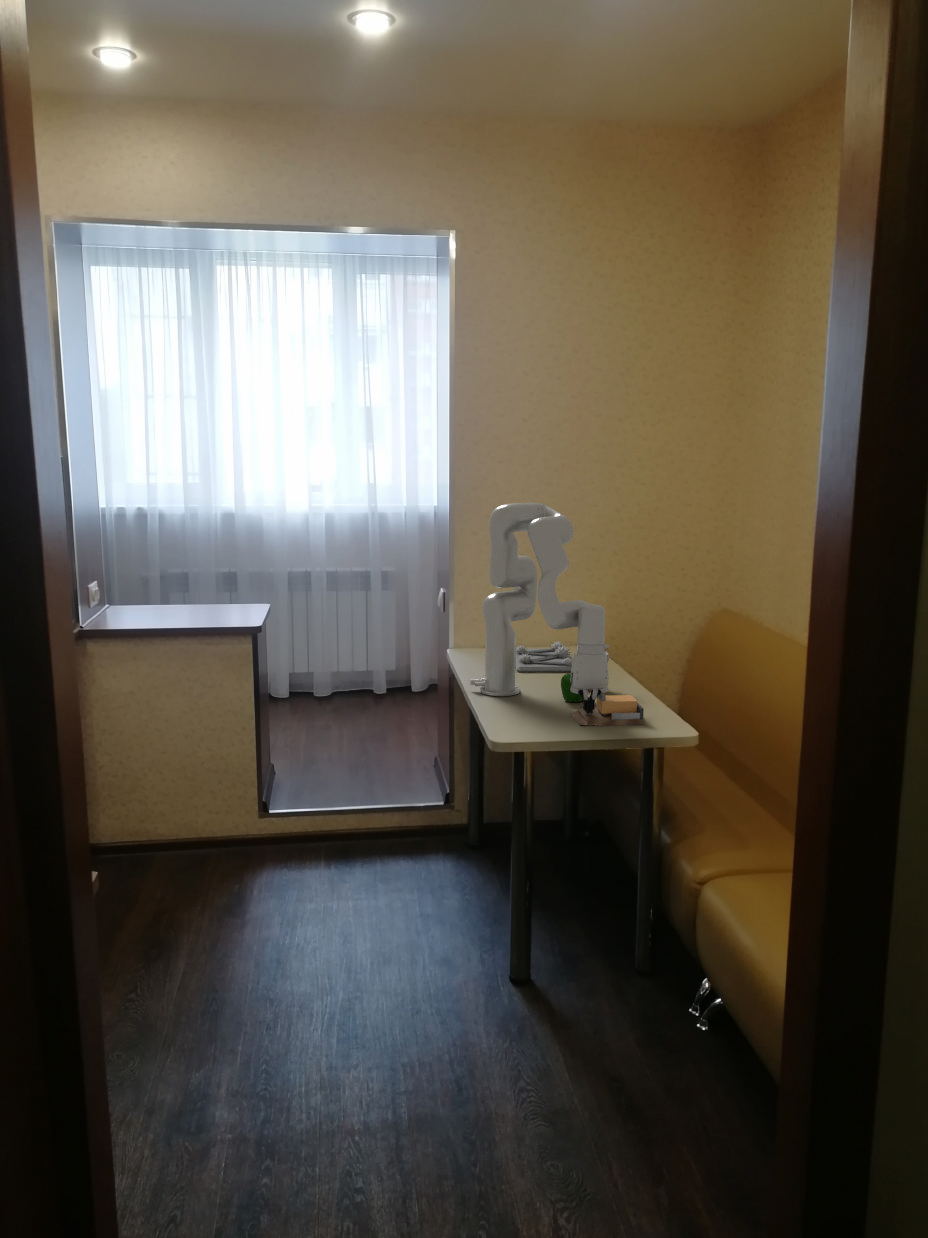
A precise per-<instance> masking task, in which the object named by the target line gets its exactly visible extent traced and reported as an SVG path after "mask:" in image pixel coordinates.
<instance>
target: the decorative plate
mask: <svg viewBox="0 0 928 1238" xmlns="http://www.w3.org/2000/svg"><path fill="white" fill-rule="evenodd" d="M550 646H551V647H550V648H526V647H525V646H524V644H523V645H522V644H521V645H516V666H515V670H516V671H518V673H571V668H572V661H573V657H572V656H571V654H572V652H571V651H570V650H571V648H570V647H567V648H566V646H567V645H566V644H565V643H561V641H554V642H553V644H552V643H551V645H550Z"/></svg>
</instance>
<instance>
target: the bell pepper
mask: <svg viewBox="0 0 928 1238" xmlns="http://www.w3.org/2000/svg"><path fill="white" fill-rule="evenodd" d="M570 680H571V673H570V672H566V673H565V674H564V675H563V676H561V680H560V688H561V692H562V693H561V695H562V698H563V699H564V701H566V702H569V703H575V702H576V703H579V702H583V697H582V696H581V695H580V694H577V693H572V692H571V691H570V689H571V681H570ZM587 691H588V689H587Z"/></svg>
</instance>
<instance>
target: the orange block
mask: <svg viewBox="0 0 928 1238" xmlns="http://www.w3.org/2000/svg"><path fill="white" fill-rule="evenodd" d="M637 703H638V700H637V699H636V698H635V697H634V696H633V695H631V694H627V695H626V694H620V695H619V694H616V695H609V694H608V695H606V694H604V693H601V694H600V695H599V696H598V697H597V698H596V708H597V709H598V711H599V712H601V715H602V716H608V715H609V713H623V712H637Z"/></svg>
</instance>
